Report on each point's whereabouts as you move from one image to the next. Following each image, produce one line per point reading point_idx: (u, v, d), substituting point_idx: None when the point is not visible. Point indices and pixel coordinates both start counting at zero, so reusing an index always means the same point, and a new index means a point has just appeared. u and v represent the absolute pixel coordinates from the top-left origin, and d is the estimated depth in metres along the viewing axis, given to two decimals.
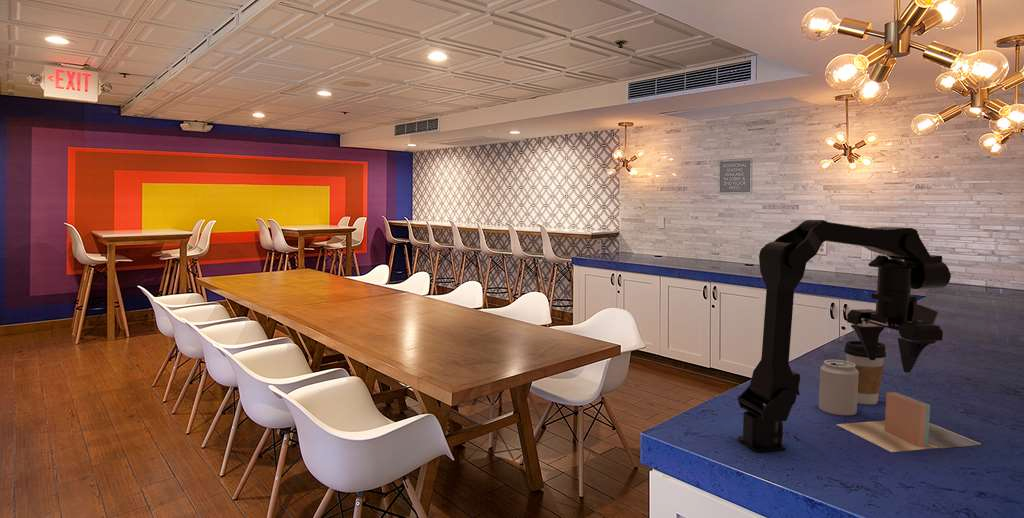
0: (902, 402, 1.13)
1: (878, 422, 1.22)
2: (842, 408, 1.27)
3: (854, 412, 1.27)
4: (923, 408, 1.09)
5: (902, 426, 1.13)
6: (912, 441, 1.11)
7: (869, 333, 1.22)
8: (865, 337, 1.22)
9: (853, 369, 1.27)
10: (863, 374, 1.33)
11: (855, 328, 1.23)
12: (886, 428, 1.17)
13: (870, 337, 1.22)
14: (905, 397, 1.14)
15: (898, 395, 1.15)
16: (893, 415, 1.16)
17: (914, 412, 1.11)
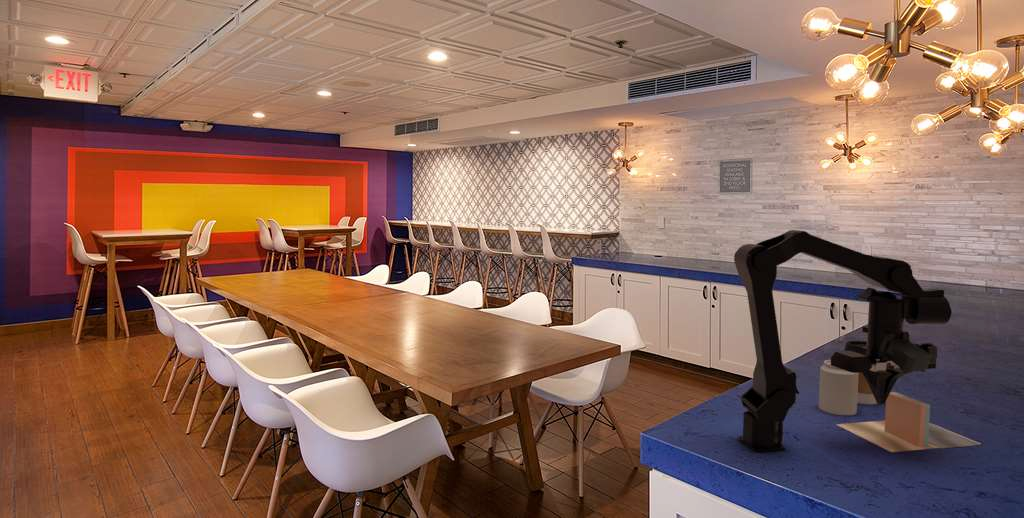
0: (902, 402, 1.13)
1: (878, 422, 1.22)
2: (842, 408, 1.27)
3: (854, 412, 1.27)
4: (923, 408, 1.09)
5: (902, 426, 1.13)
6: (912, 441, 1.11)
7: None
8: None
9: None
10: None
11: None
12: (886, 428, 1.17)
13: None
14: (905, 397, 1.14)
15: (898, 395, 1.15)
16: (893, 415, 1.16)
17: (914, 412, 1.11)
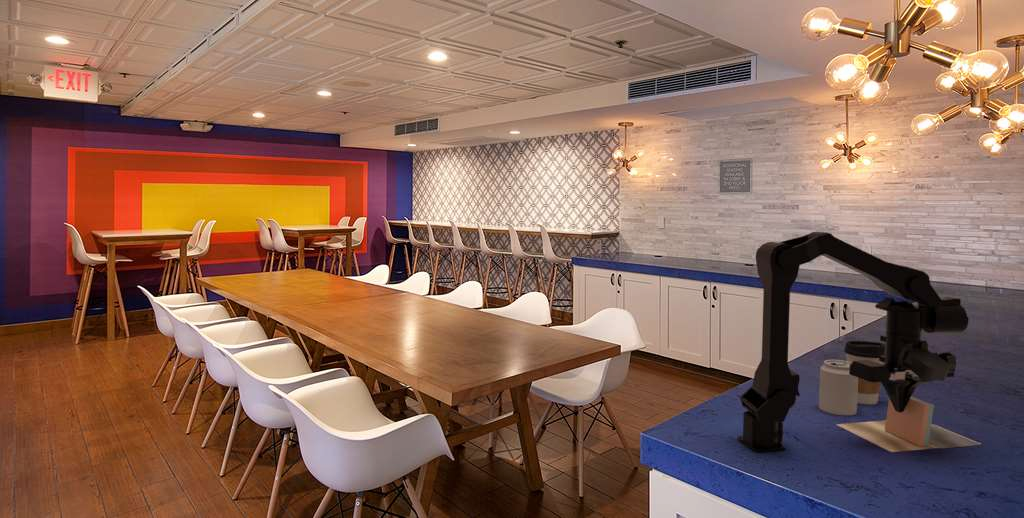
0: None
1: (878, 422, 1.22)
2: (842, 408, 1.27)
3: (854, 412, 1.27)
4: (927, 407, 1.09)
5: (903, 425, 1.13)
6: (912, 440, 1.11)
7: None
8: None
9: None
10: None
11: None
12: (886, 427, 1.17)
13: None
14: None
15: None
16: (894, 414, 1.16)
17: (917, 411, 1.11)
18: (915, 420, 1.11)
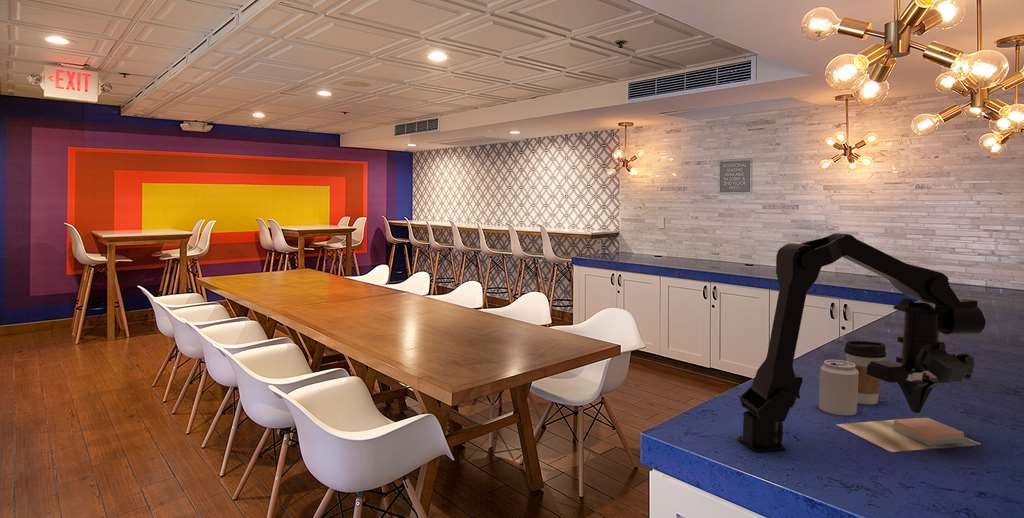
0: (940, 424, 1.15)
1: (878, 422, 1.22)
2: (842, 408, 1.27)
3: (854, 412, 1.27)
4: (961, 435, 1.11)
5: (922, 426, 1.14)
6: (924, 432, 1.11)
7: None
8: None
9: (853, 369, 1.27)
10: (863, 374, 1.33)
11: None
12: (898, 420, 1.18)
13: None
14: None
15: None
16: (917, 422, 1.17)
17: (949, 430, 1.12)
18: (941, 430, 1.12)
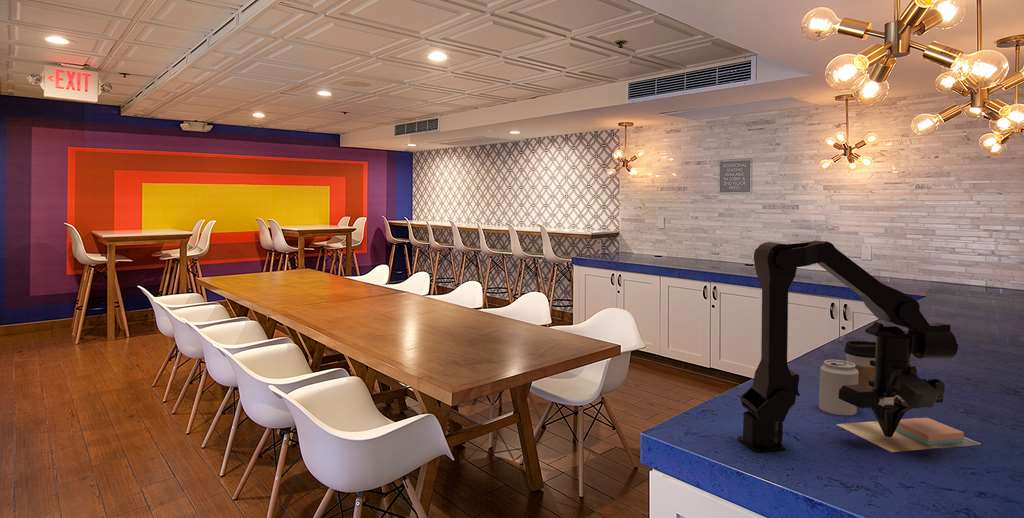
0: (940, 424, 1.15)
1: None
2: (842, 408, 1.27)
3: (854, 412, 1.27)
4: (961, 435, 1.11)
5: (922, 426, 1.14)
6: (924, 432, 1.11)
7: None
8: None
9: (853, 369, 1.27)
10: (863, 374, 1.33)
11: None
12: None
13: None
14: None
15: None
16: (917, 422, 1.17)
17: (949, 430, 1.12)
18: (941, 430, 1.12)
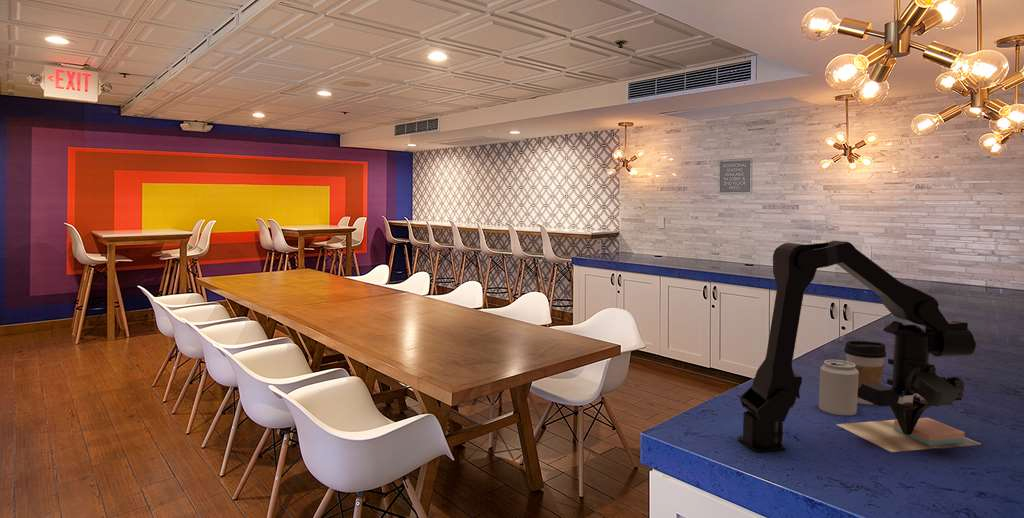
0: (941, 424, 1.15)
1: (878, 422, 1.22)
2: (842, 408, 1.27)
3: (854, 412, 1.27)
4: (962, 435, 1.11)
5: (922, 426, 1.14)
6: (924, 432, 1.11)
7: None
8: None
9: (853, 369, 1.27)
10: (863, 374, 1.33)
11: None
12: None
13: None
14: None
15: None
16: (918, 422, 1.17)
17: (950, 430, 1.13)
18: (941, 430, 1.12)
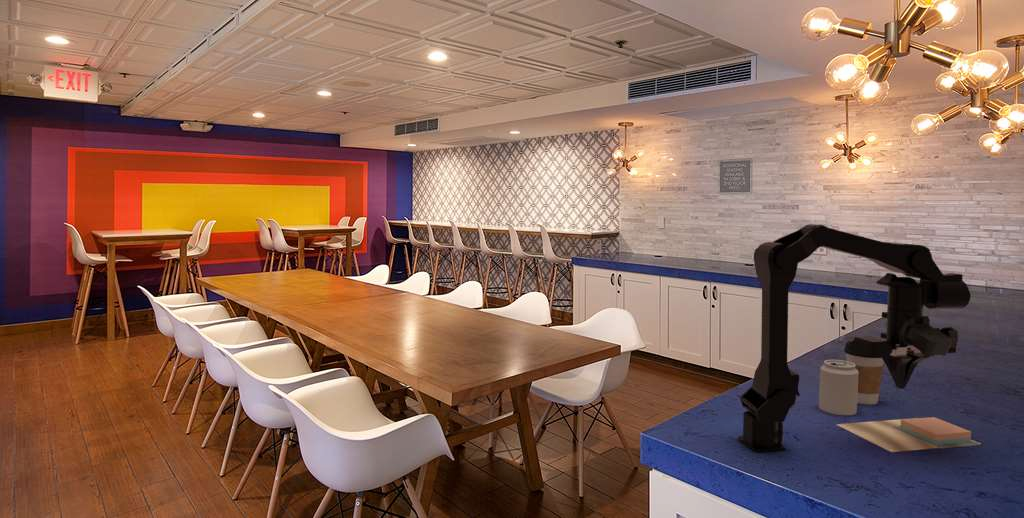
0: (948, 424, 1.16)
1: (878, 422, 1.22)
2: (842, 408, 1.27)
3: (854, 412, 1.27)
4: (968, 434, 1.12)
5: (929, 426, 1.15)
6: (931, 431, 1.12)
7: None
8: None
9: (853, 369, 1.27)
10: (863, 374, 1.33)
11: None
12: (905, 420, 1.18)
13: None
14: None
15: None
16: (924, 421, 1.17)
17: (956, 429, 1.13)
18: (948, 430, 1.13)
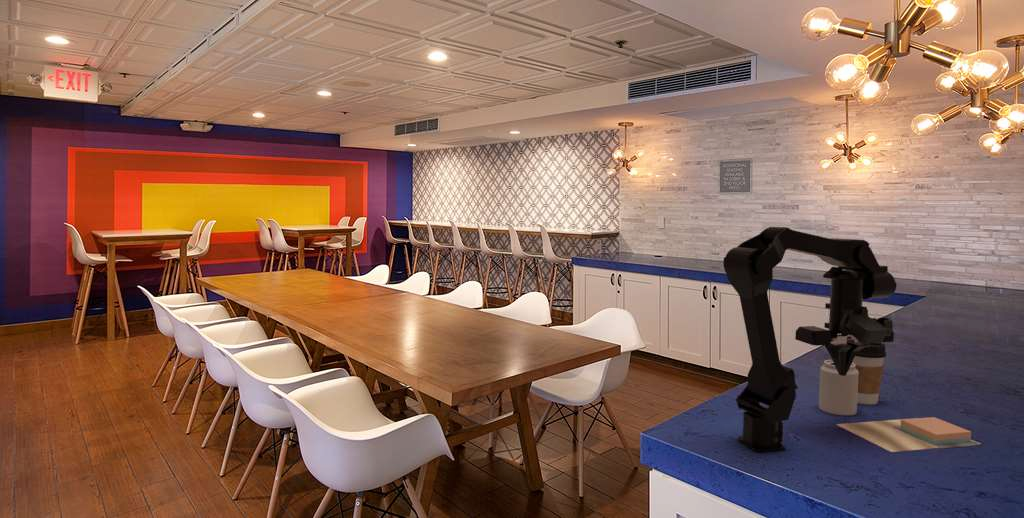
0: (948, 424, 1.16)
1: (878, 422, 1.22)
2: (842, 408, 1.27)
3: (854, 412, 1.27)
4: (968, 434, 1.12)
5: (929, 426, 1.15)
6: (931, 431, 1.12)
7: None
8: None
9: (853, 369, 1.27)
10: (863, 374, 1.33)
11: None
12: (905, 420, 1.18)
13: None
14: None
15: None
16: (924, 421, 1.17)
17: (956, 429, 1.13)
18: (948, 430, 1.13)
